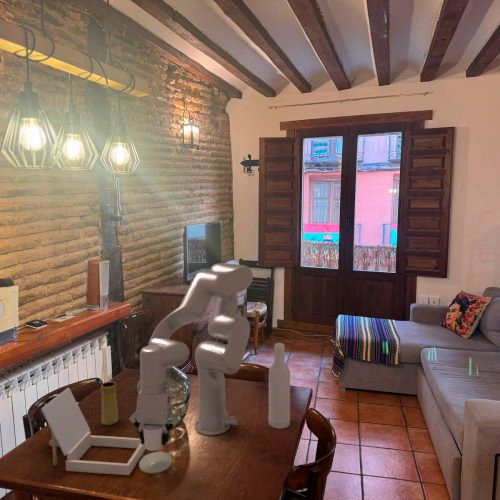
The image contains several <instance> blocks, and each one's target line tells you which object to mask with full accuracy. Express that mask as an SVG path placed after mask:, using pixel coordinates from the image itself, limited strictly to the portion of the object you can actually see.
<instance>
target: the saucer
mask: <svg viewBox="0 0 500 500" xmlns="http://www.w3.org/2000/svg"><path fill="white" fill-rule="evenodd" d="M138 463H139V464H138V467H139V469H140V471H141V472H144V473H146V474H160V473H162V472H165V471H166V470H168V469H170V467H171V466H172V464H173V458H172V456H171V454H168V453H167V452H164V451H156V452H155V451H154V452H151V453H148V454H146V455H144V456H143V457H142V458H140V459H139V461H138Z"/></svg>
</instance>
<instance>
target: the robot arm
mask: <svg viewBox="0 0 500 500" xmlns="http://www.w3.org/2000/svg"><path fill="white" fill-rule="evenodd" d="M253 278H254V274H253V271H252V269H251V268H250V267H249V266H247V265H245V264H237V263H236V264H233V263H227V262H226V263H225V262H224V263H223V262H220V263H215V264H213V265H211V267H210V270H202V271H199V272H197V273H196V274H195V275H194V276H193V279H192V281H191V282H190V285H189V287H188V289H187V290H186V292H185V295H184V296H183V298H182V301H181V303H180V304H179V306H178V307H177V308H176V309H174V310H173V311H172V312H170V313H169V314H167V316H165V317H164V318H163V319H161V321H160V322H159V323H158V324H157V325H156V327H155V329H154V330H153V333H152V334H151V336H150V339H149V341H148V344H147V346H144V347H142V348H141V349H140V351H139V371H140V374H139V377H140V378H139V379H140V389H139V391H138V394H137V399H136V411H134V412H133V413H132V414H131V416H130V417H129V418H128V420H129V421H130V423H132V424H133V425H134V427H135V428H136V429H137V432H139V438H140V440H141V444H144V443H145V441H144V433H143V426H144V424H157V425H161V427H162V429H163V433H162V445H163V447H165V446H166V444H167V443H168V442H169V440H170V431H171V430H172V429H173V427H175V426H176V425H177V424H178V422H179V418H178V416H176V414H174V413H173V410H172V401H171V394H170V391H169V389H170V388H171V384H170V383H168V382H167V380H166V369H169V368H174V367H178V366H181V365H183V364H185V363H186V362H187V360H188V359H189V356H190V349H189V347H188V345H187V344H186V343H184V342H182V341H178V340H174V339H170V338H171V337H172V335H173V333H175V332H176V331H178V329H179V328H182V327H183V326H186V325H190V324H193V323H196V322H198V321H200V320H202V318H203V317H204V315H205V312H206V311H207V308H208V306H209V304H210V302H211V300H212V298H213V297H214V298H215V301H214V304H213V307H212V311H211V314H210V317H209V320H208V324H207V333H208V334H209V335H210V337H212V338H215V339H218V340H224V341H227V343H226V344H225V343H222V342H219V341H215V340H204V341H202V342H200V343H199V344H198V345H197V347H196V348H195V351H194V359H195V364H196V365H195V366H196V369H197V378H198V386H197V387H198V419H197V420H196V422H195V423H194V429H195V431H196V432H197V433H199V434H201V435H206V436H216V435H221V434H224V433H225V432H227V431H228V430H230V428H231V426H232V425H233V426H238V419H236V416H234V415H233V416H232V415H231V416H229V415H228V411H226V378H225V374H226V375H227V374H228V375H235V374H236V373H237V372H238V371H239V369H240V368H241V366H242V364H243V360H244V356H245V353H246V350H247V346H248V342H249V339H250V334H251V325H250V324H251V323H250V321H249V320H248V319H247V318H246V317H245V316H243V315H239V314H236V313H237V310H238V306H239V298H238V297H239V296H238V293H241V292H243V291H244V290H246V289H247V288H249V287H251V286H250V285H251V284H252V282H253ZM169 419H170V423H169Z"/></svg>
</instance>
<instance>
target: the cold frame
mask: <svg viewBox="0 0 500 500" xmlns="http://www.w3.org/2000/svg"><path fill="white" fill-rule="evenodd" d="M58 394H59V395H58ZM58 394H57V395H58V396H57V397H55V398H54V399H53V400H51V401H50V402H49V403H48V404H46V405H45V404H44V406H43V407H41V409H40V410H41V412H42V414H43V416H44V419H45V420H46V422H47V424H48V426H49V427H50V429H51V439H52V446H51V447H52V458H53V459H52V462H53V466H54V467H55V466H57V465H58V457H57V447H56V440H57V442H58V444H59V448H60V450H61V451H62V453H63V456H67V457H66V458H67V459H66V460H65V472H77V473H78V472H79V473H91V474H93V473H94V474H106V475H108V474H109V475H121V476H130V475H131V473H132V471H133V470H134V468H135V467H136V465H137V464H138V463H139V462H140V460H141V457H142V456H143V454H144V453H145V452H146V450H147V449H146V448H145V443H144V444H141V440H140V437H139V438H138V437H124V436H123V437H121V436H107V435H94V434H93V435H92V433H91V432H92V431H91V429H90V426H89V425H88V422H87V421H86V418H85V416H84V414H83V412H82V411H81V409H80V407H79V404H78V402H77V401H76V398H75V396H74V395H73V393H72V391H71V389H70V387H67V388H65V389H64V390H63V391H62V392H60V393H58ZM92 446H95V447H109V448H124V449H125V448H127V449H135V451H134V452H133V454H132V455H131V456H130V458H129V460H128V461H127V463H124V462H123V463H122V462H108V461H96V460H95V461H94V460H80V459H81V458H82V457H83V456H84V455H85V453H87V451H88V450H89V449H90V448H91V447H92Z"/></svg>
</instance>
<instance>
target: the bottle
mask: <svg viewBox="0 0 500 500" xmlns="http://www.w3.org/2000/svg"><path fill="white" fill-rule="evenodd" d="M285 347H286V346H285V344H284V343H282V342H276V343H274V346H273V350H274V351H273V352H274V353H273V354H274V356H273V357H274V362H273V363H272V364H271V365H270V367H269V370H268V416H267V417H268V418H267V419H268V424H269V426H270V427H272V428H274V429H280V430H281V429H285V428H288V427H289V426H290V424H291V370H290V368H289V366H288V364H286V363H285V349H286V348H285Z"/></svg>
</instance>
